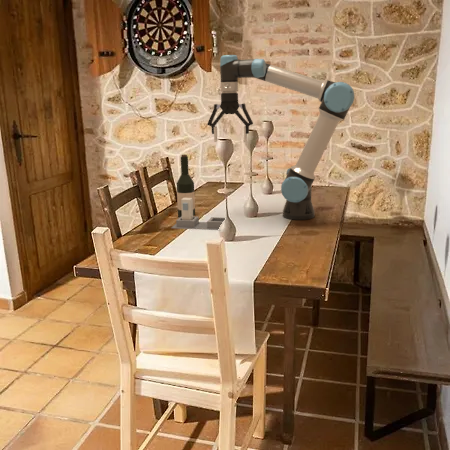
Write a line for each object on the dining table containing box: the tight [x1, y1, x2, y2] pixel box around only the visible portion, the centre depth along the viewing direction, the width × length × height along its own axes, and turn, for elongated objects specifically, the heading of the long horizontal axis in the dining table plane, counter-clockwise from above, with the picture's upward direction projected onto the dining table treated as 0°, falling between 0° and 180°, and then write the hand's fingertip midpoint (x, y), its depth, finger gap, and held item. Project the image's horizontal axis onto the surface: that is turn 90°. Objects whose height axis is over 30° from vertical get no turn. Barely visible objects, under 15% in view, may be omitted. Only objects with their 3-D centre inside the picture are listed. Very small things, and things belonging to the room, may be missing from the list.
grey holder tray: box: [170, 215, 226, 231], centre depth 219 cm, size 26×12×4 cm, turn 77°
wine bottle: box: [176, 154, 196, 219], centre depth 236 cm, size 8×8×30 cm
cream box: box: [181, 198, 193, 220], centre depth 219 cm, size 4×5×12 cm
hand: (230, 141), depth 222 cm, fingers open, 13 cm apart
